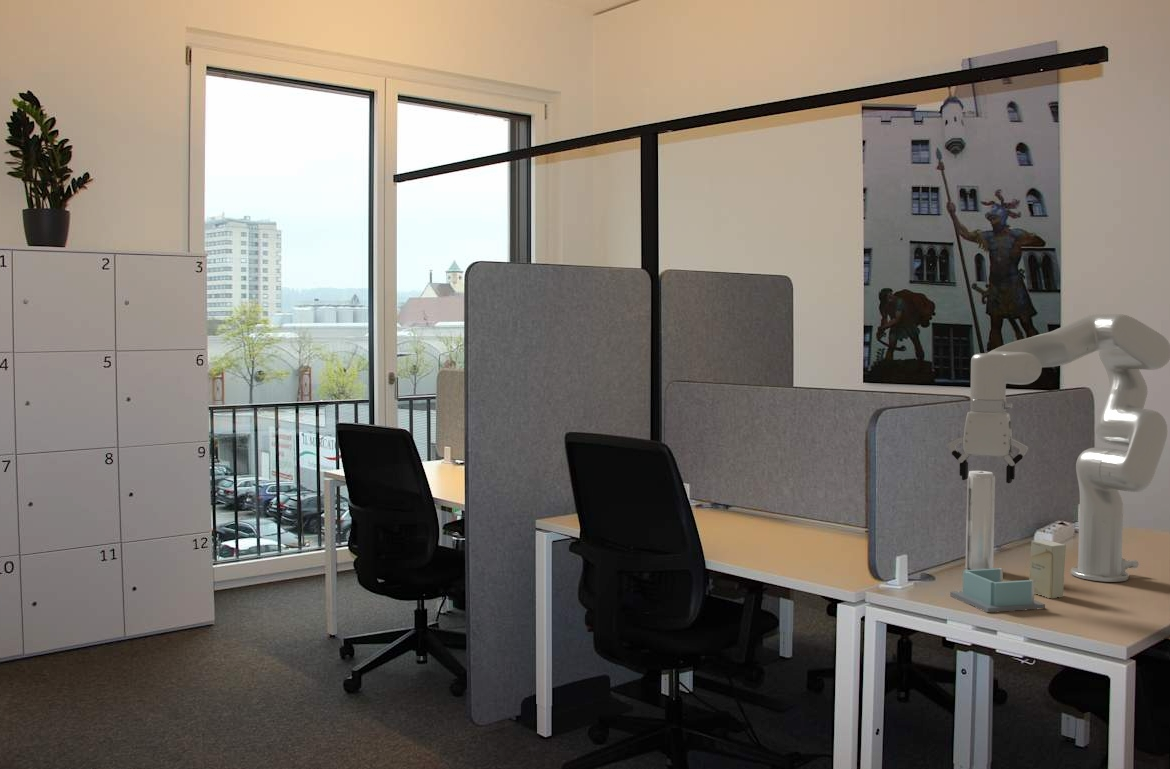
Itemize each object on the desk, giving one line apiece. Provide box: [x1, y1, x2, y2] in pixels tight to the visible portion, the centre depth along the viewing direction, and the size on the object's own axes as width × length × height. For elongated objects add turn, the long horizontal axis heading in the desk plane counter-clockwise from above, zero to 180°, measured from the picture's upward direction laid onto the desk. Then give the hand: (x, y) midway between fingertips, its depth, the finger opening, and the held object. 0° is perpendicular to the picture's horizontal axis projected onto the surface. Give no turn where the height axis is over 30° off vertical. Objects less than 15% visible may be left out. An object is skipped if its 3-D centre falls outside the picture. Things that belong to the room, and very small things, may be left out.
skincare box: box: [1028, 538, 1067, 599], centre depth 228 cm, size 6×4×12 cm
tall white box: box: [965, 470, 996, 570], centre depth 251 cm, size 6×6×25 cm
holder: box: [949, 567, 1046, 613], centre depth 222 cm, size 14×14×6 cm
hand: (986, 480), depth 231 cm, fingers open, 9 cm apart
